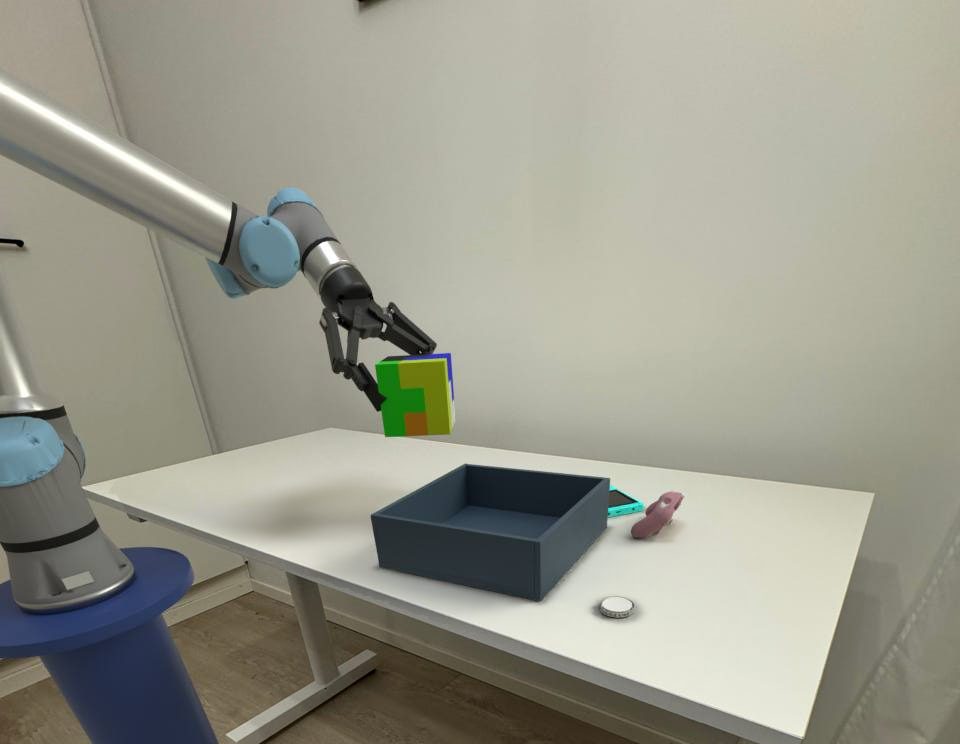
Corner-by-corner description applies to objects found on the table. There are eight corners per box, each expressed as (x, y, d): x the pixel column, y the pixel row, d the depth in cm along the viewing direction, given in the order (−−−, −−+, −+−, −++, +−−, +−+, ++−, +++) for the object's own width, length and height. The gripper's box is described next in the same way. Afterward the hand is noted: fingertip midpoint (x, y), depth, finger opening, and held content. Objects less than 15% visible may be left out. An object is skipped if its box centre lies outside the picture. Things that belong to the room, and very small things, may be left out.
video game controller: (652, 551, 83) (679, 514, 78) (626, 534, 83) (651, 496, 79) (668, 527, 90) (694, 492, 85) (644, 512, 91) (668, 476, 86)
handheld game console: (599, 483, 106) (599, 476, 105) (645, 510, 93) (646, 502, 92) (550, 492, 103) (551, 485, 102) (592, 520, 90) (592, 512, 90)
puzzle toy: (455, 420, 92) (450, 352, 87) (450, 434, 84) (444, 361, 78) (396, 422, 93) (387, 356, 87) (385, 437, 84) (374, 364, 79)
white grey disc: (628, 599, 68) (629, 594, 68) (637, 616, 65) (638, 611, 64) (596, 601, 68) (596, 597, 68) (603, 618, 65) (604, 613, 64)
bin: (379, 567, 80) (370, 514, 76) (468, 508, 99) (464, 463, 94) (540, 601, 69) (540, 542, 65) (607, 528, 87) (610, 477, 83)
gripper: (392, 300, 97) (459, 400, 96) (265, 311, 83) (343, 429, 82) (407, 261, 91) (480, 368, 90) (273, 267, 77) (357, 393, 76)
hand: (414, 397), depth 86 cm, fingers closed on puzzle toy, 12 cm apart
